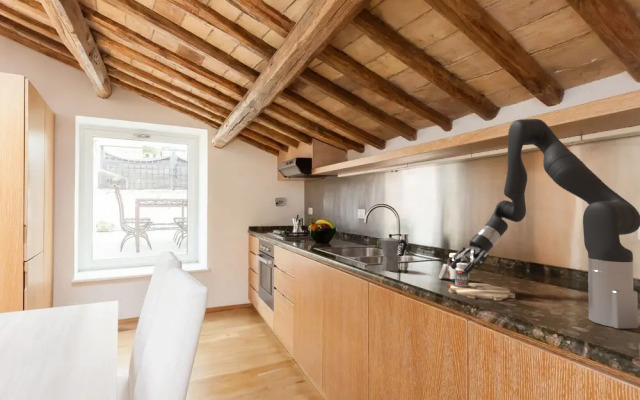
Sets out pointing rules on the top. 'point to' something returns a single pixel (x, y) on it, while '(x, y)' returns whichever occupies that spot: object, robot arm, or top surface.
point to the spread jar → (450, 271)
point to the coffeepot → (391, 253)
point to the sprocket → (481, 291)
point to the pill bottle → (461, 275)
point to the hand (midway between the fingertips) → (458, 269)
